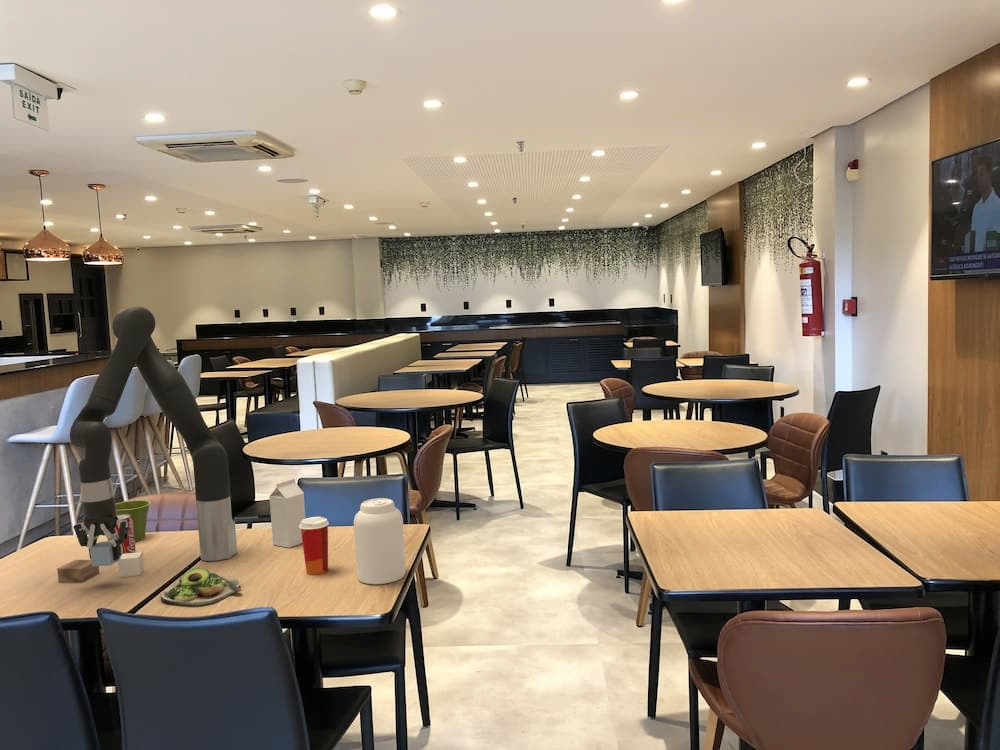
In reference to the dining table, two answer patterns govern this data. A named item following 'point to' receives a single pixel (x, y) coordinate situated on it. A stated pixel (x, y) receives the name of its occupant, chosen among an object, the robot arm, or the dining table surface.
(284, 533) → the milk carton
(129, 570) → the cream cube
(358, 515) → the white lidded jar
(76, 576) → the walnut base
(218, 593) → the salad plate
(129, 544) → the soda can
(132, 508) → the plant pot
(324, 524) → the paper cup
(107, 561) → the blue cube
